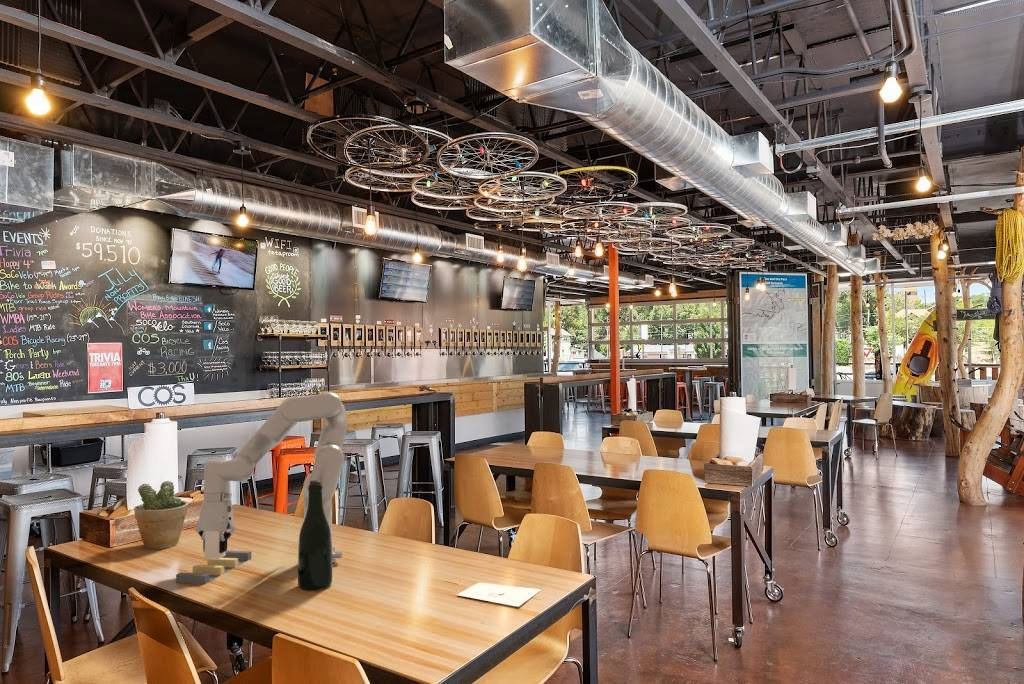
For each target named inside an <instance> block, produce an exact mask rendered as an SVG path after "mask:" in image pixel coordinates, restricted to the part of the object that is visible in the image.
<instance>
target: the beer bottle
mask: <svg viewBox="0 0 1024 684" xmlns="http://www.w3.org/2000/svg"><path fill="white" fill-rule="evenodd" d="M322 489H323V486H322V484H321V481H320V480H312V481H310V485H309V486H308V508H307V512H306V516H305V519H304V518H303V522H302V524H301V527H300V530H299V533H298V534H299V535H298V549H297V550H298V551H297V587H298V588H299V589H301V590H302V591H303V590H304V591H309V592H311V591H319V590H323V589H327V588H329V587H330V586H331V585H332V583H333V563H332V547H333V536H332V537H331V530H330V526H329V523H328V521H327V518H326V516H325V513H324V509H323V500H322Z"/></svg>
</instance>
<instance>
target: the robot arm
mask: <svg viewBox="0 0 1024 684" xmlns="http://www.w3.org/2000/svg"><path fill="white" fill-rule="evenodd" d="M347 413H348V412H347V411H346V408H345V406H344V404H343V402H342V399H341V398H340V396H339V395H338V394H337V393H333V392H331V391H322V392H320V393H319V394H314V395H307V396H289V397H286V398H285V399H284V400H283V401H282V402H281V403H280V404H279V406H277V408H276V409H275V410H274V411H273V412H272V414H271V415H270V416H269V417H268V418H267V419H266V420H265V422H264V423H263V424H262V425H261V426H260V427H259V429H258V430H257V431H256V432H255V434H254V435H253V436H252V437H251V438H250V440H249V441H248V442H247V443H245V445H244V446H243V447H242V449H241V450H239V452H238V453H237V454H236V455H235V456H234V457H233V459H231V460H227V459H225V458H213V459H209V460H206V461H205V463H204V469H203V470H204V473H203V474H204V475H203V477H204V478H203V500H202V502H201V504H200V505H201V506H200V510H199V518H198V523H197V524H196V526H195V527H194V531H195V532H196V533H198V536H200V538H201V540H202V541H203V542H202V546H203V547H202V548H203V553H205V531H219V532H220V537H221V541H220V549H219V552H220V553H223V552H225V551H226V550H227V549H228V539H230V537H232V535H233V534H234V533H236V532H237V531H238V529H237V527H236V526H235V524H234V509H233V504H232V503H233V502H232V500H231V498H232V493H230V490H229V489H230V485H229V484H230V482H245V481H247V480H249V479H250V478H251V477H252V475H253V473H254V469H255V467H256V466H257V465H258V463H259V462H260V461H261V460H262V459H263V458H264V457H265V456H266V455H267V454H268V453H269V452H270V451H271V450H273V449H274V448H276V447H277V446H279V444H281V442H283V440H284V439H285V438H286V437H287V435H288V434H289V433H290V432H291V430H293V428H294V427H296V425H297V424H298V423H301V422H310V421H317V420H323V421H322V422H323V423H322V427H321V430H320V431H321V432H320V435H319V439H318V441H317V444H316V446H315V449H314V452H313V460H314V464H313V467H312V469H311V473H309V474H308V475H307V476H306V478H305V479H304V482H303V486H302V487H303V488H302V489H303V490H302V491H303V520H304V519H305V516H306V512H307V508H308V486H309V485H310V481H312V480H320V481H321V484H322V486H323V489H322V500H323V509H324V513H325V516H326V518H327V521H328V523H329V526H330V530H331V537H332V538H333V497H334V495H335V493H336V490H337V487H338V484H339V480H340V477H341V474H342V470H343V467H344V461H345V455H344V452H343V450H342V449H343V445H344V441H345V437H346V434H347V430H348V425H349V424H348V423H349V420H348V414H347ZM342 558H343V552H342V550H336V548H335V546H332V564H333V563H335V562H336V561H337V559H342Z"/></svg>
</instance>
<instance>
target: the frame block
mask: <svg viewBox="0 0 1024 684" xmlns="http://www.w3.org/2000/svg"><path fill="white" fill-rule="evenodd" d="M220 541H221V537H220V532H219V531H205V552H204V557H203V558H204V559H207V560H208V559H220V558H222V557H224V556H226V551H225V552H223V553H220V552H219V549H220Z"/></svg>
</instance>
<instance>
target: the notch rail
mask: <svg viewBox="0 0 1024 684" xmlns="http://www.w3.org/2000/svg"><path fill="white" fill-rule="evenodd" d="M251 560H252V550H250V551H248V550H226V556H224V557H222V558H220V559H207V564H195V565H192V572H178V573H177V574H176V575H175V583H177V584H191V585H192V584H193V585H195V584H196V585H206V584H208V583H210V582H212V581H214V580H216V579H218V578H219V577H221V576H222V575H223V576H224V574H226V573H229V572H230V571H232V570H234V569H235V568H237V567H239V566H241V565H242V564H243V565H244V564H245V563H246V562H248V561H251Z"/></svg>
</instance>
